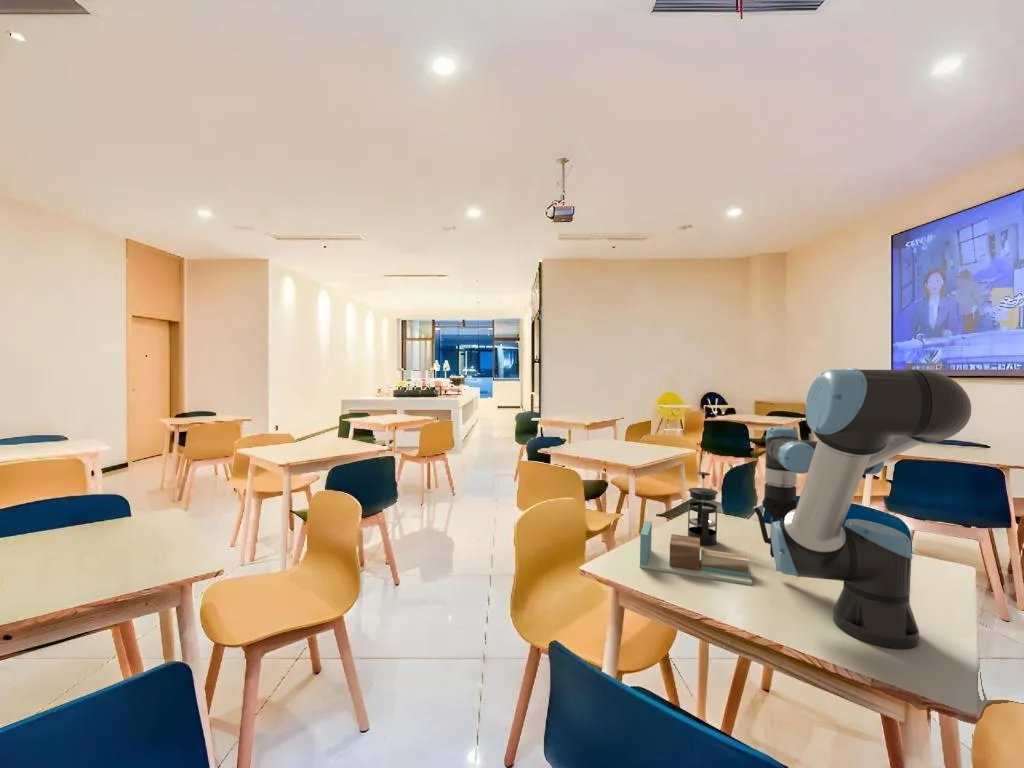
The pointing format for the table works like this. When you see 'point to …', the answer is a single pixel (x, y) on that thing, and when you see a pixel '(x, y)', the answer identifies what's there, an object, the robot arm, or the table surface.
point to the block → (685, 552)
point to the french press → (703, 515)
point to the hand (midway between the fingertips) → (777, 569)
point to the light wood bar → (724, 560)
